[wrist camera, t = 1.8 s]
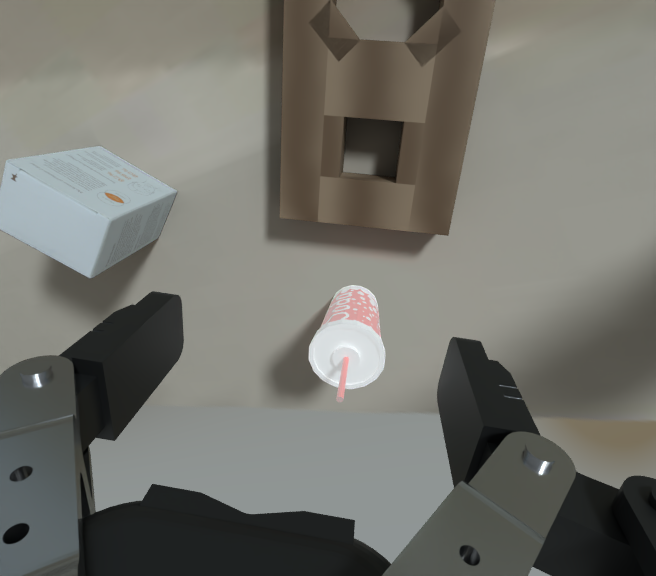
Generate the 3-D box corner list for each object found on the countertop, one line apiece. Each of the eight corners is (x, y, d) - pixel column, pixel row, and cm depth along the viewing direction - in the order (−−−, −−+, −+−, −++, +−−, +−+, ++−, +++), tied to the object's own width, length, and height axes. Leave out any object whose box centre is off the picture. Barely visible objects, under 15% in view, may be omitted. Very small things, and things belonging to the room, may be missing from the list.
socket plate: (515, -143, 26) (530, -173, 23) (443, 225, 36) (448, 235, 33) (297, -148, 27) (287, -176, 24) (287, 209, 37) (279, 218, 34)
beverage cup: (382, 275, 38) (381, 359, 26) (388, 331, 41) (389, 433, 28) (319, 280, 40) (288, 363, 27) (328, 334, 42) (303, 434, 29)
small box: (85, 196, 39) (-12, 226, 30) (100, 143, 37) (1, 157, 27) (160, 239, 40) (89, 282, 30) (180, 190, 38) (110, 220, 28)
